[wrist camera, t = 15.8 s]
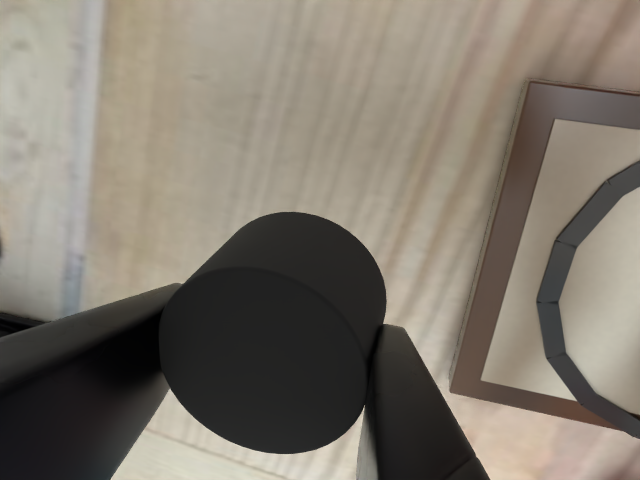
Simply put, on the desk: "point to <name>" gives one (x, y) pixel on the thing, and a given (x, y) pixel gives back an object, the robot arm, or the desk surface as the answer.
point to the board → (561, 263)
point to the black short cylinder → (276, 334)
